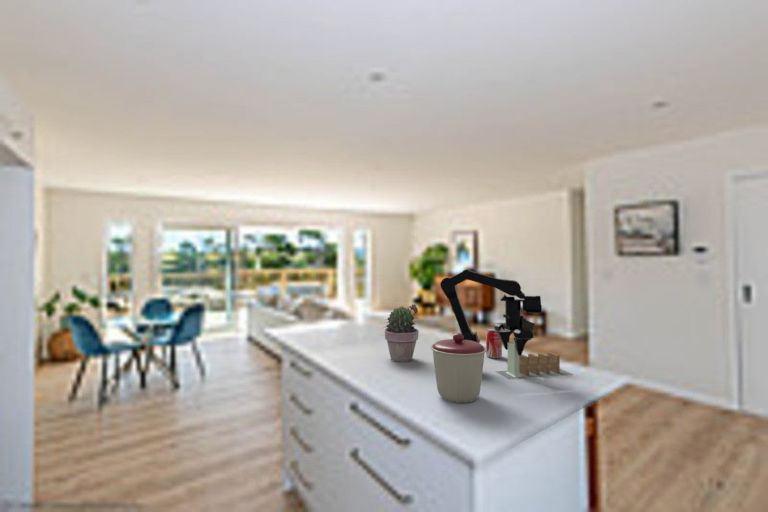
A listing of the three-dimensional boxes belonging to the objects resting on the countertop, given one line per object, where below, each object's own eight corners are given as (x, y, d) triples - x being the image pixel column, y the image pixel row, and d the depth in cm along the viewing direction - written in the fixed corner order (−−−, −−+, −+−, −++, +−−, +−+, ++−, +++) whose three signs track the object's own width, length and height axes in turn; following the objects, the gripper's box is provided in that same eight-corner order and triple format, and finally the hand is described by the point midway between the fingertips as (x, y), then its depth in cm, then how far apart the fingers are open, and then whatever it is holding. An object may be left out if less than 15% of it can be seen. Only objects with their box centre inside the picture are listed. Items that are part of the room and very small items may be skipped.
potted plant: (372, 356, 173) (372, 303, 174) (408, 352, 182) (408, 301, 182) (388, 366, 157) (388, 307, 157) (428, 361, 165) (428, 305, 166)
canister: (448, 384, 135) (447, 326, 135) (495, 395, 123) (495, 332, 124) (420, 398, 121) (420, 334, 121) (471, 413, 109) (471, 341, 110)
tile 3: (535, 374, 144) (535, 356, 144) (528, 371, 149) (528, 353, 149) (539, 374, 145) (539, 356, 145) (531, 370, 150) (531, 353, 150)
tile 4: (546, 374, 145) (545, 356, 145) (538, 370, 150) (538, 353, 150) (549, 373, 146) (549, 356, 146) (541, 370, 151) (541, 352, 151)
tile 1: (514, 376, 142) (514, 345, 143) (507, 372, 147) (507, 342, 147) (519, 375, 143) (519, 344, 143) (512, 372, 148) (512, 342, 148)
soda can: (503, 356, 174) (503, 328, 174) (499, 359, 168) (499, 331, 168) (488, 354, 178) (488, 327, 178) (484, 357, 172) (483, 329, 172)
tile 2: (525, 375, 143) (525, 357, 144) (518, 371, 148) (518, 354, 148) (529, 375, 144) (529, 357, 144) (521, 371, 149) (521, 354, 149)
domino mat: (508, 380, 139) (508, 379, 139) (495, 372, 149) (495, 371, 149) (573, 375, 145) (573, 374, 145) (556, 368, 155) (556, 366, 155)
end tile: (556, 373, 146) (556, 355, 146) (547, 369, 151) (547, 352, 151) (559, 373, 147) (559, 355, 147) (551, 369, 152) (551, 352, 152)
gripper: (546, 315, 138) (546, 357, 138) (518, 308, 156) (518, 345, 156) (519, 316, 136) (519, 359, 135) (493, 309, 154) (494, 347, 154)
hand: (513, 352), depth 145 cm, fingers open, 9 cm apart
